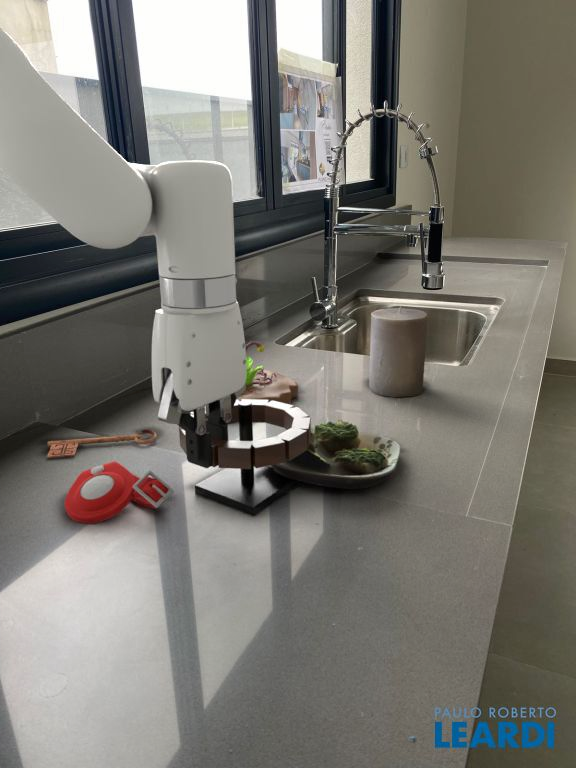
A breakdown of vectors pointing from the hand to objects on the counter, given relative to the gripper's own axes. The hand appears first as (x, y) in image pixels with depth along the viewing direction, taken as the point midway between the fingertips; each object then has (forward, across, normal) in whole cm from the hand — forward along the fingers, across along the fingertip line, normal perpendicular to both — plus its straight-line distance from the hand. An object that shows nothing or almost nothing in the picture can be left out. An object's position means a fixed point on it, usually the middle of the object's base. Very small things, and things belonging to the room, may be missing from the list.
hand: (208, 458), depth 66 cm
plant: (+7, -30, -23) cm, 39 cm away
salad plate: (+6, -17, +5) cm, 19 cm away
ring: (0, -6, 0) cm, 7 cm away
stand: (+7, -6, 0) cm, 9 cm away
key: (+7, -4, -25) cm, 26 cm away
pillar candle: (+7, -50, -2) cm, 51 cm away
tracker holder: (+7, +5, -10) cm, 13 cm away
